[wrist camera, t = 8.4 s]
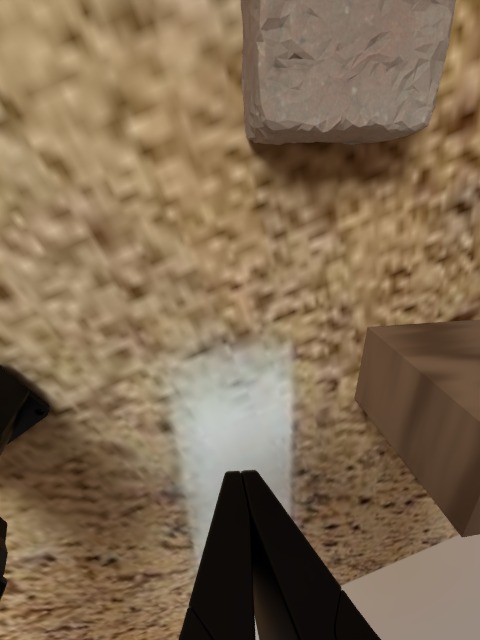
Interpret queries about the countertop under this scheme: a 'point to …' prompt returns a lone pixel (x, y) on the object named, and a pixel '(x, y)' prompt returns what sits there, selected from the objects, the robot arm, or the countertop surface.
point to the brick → (341, 68)
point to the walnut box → (429, 408)
